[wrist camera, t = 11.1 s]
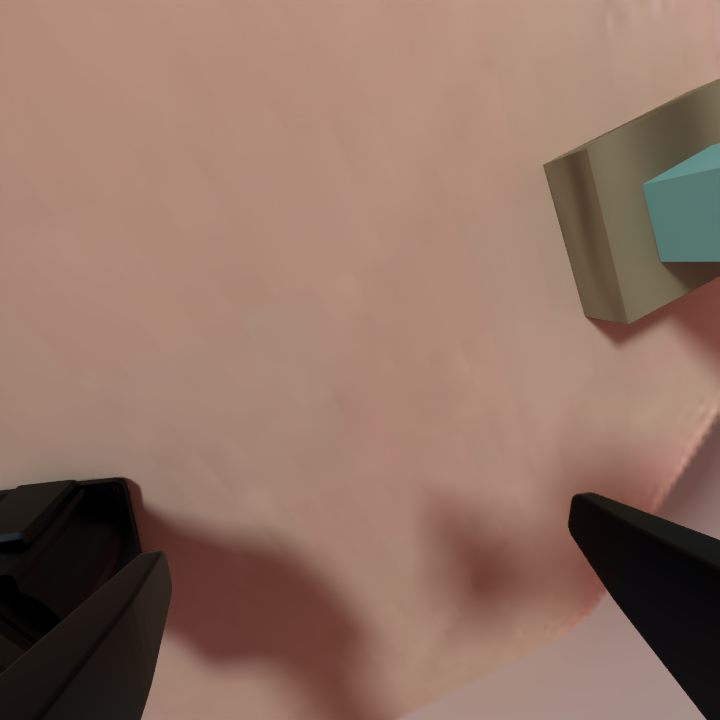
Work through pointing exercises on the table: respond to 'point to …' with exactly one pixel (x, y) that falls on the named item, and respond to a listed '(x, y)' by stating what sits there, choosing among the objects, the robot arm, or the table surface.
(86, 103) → the table surface
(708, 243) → the pillar brick
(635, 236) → the base brick
